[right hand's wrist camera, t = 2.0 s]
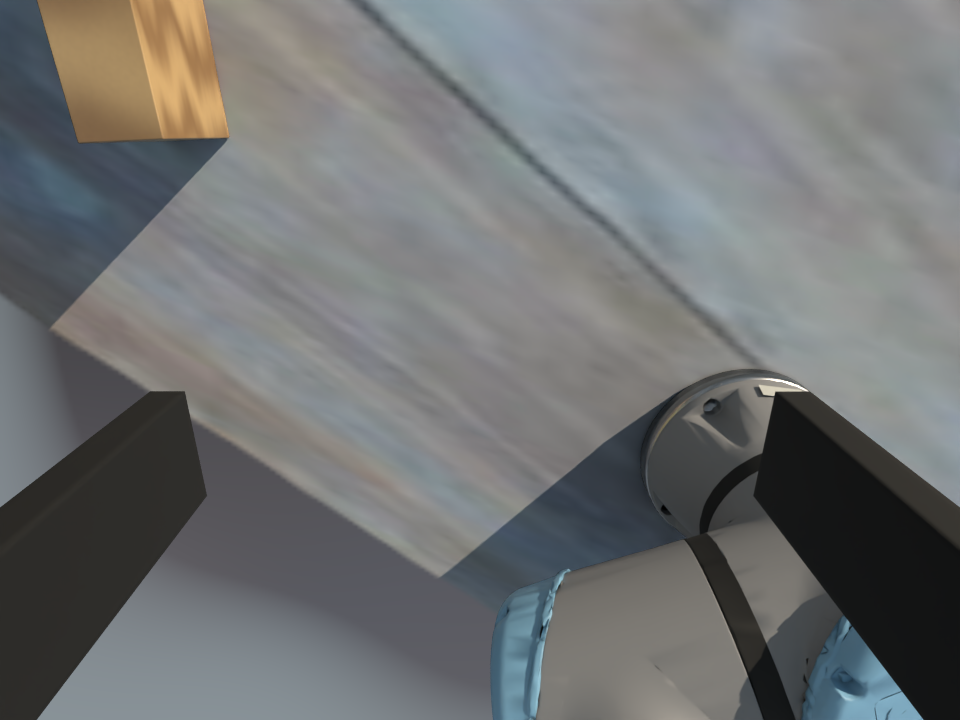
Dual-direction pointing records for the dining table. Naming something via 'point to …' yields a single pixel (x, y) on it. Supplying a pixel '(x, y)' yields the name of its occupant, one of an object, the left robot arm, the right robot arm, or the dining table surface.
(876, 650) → the right robot arm
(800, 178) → the dining table surface
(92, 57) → the bar
